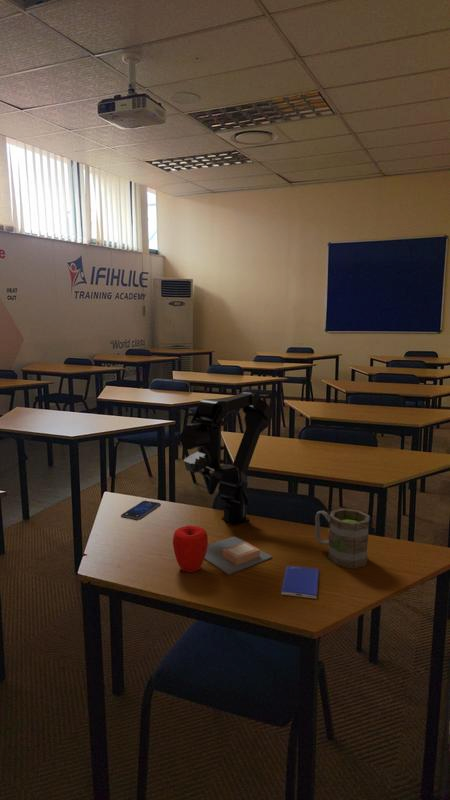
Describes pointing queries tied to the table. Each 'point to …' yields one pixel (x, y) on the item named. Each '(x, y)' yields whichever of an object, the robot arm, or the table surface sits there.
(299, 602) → the table surface
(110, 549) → the table surface
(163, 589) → the table surface
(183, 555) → the apple
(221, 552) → the mat
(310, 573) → the hard drive
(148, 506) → the smartphone
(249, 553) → the tile
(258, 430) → the robot arm
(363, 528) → the mug
